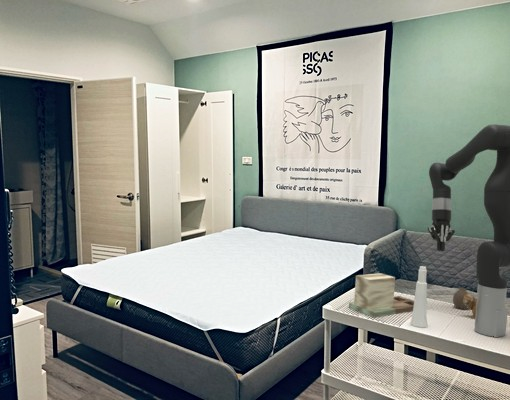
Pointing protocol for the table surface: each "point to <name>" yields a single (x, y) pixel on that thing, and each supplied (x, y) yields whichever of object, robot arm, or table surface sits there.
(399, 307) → the trap box
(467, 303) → the lion figurine
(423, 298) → the cosmetic bottle
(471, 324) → the table surface
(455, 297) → the vase
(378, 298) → the maple block
